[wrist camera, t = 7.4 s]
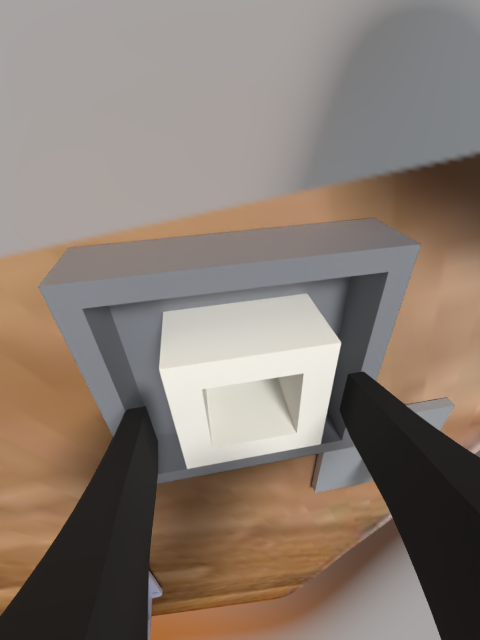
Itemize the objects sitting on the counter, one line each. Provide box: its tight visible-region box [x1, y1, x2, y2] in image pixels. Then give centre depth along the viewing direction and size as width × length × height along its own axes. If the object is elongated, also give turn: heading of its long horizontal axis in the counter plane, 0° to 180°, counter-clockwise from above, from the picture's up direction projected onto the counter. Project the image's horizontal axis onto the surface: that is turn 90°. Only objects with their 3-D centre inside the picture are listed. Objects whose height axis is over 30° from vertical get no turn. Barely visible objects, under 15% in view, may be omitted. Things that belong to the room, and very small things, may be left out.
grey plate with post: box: [312, 398, 455, 493], centre depth 18 cm, size 8×8×5 cm
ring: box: [159, 294, 341, 469], centre depth 12 cm, size 6×6×3 cm
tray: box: [38, 218, 421, 484], centre depth 12 cm, size 11×11×3 cm
